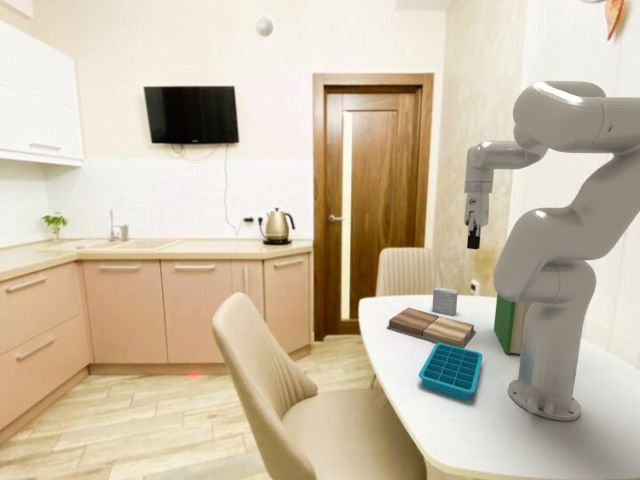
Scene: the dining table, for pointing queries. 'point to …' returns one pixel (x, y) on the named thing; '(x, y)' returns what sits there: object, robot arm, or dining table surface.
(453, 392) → the ice cube tray
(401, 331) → the underlay mat
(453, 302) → the medicine box
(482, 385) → the dining table surface
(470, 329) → the oak plank
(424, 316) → the walnut plank
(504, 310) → the hardback book
